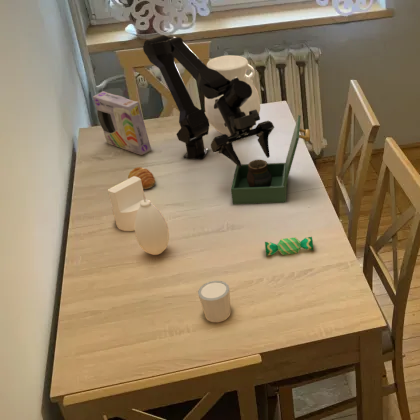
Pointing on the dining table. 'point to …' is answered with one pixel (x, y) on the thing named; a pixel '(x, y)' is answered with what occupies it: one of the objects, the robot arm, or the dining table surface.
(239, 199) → the green open box
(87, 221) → the dining table surface
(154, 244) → the bulb air blower
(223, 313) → the white cylinder
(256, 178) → the mate gourd
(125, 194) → the base with upright slab
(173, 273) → the dining table surface
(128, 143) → the cake pan box
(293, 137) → the green box lid
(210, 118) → the cream handled vase
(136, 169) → the pastry
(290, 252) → the candy
